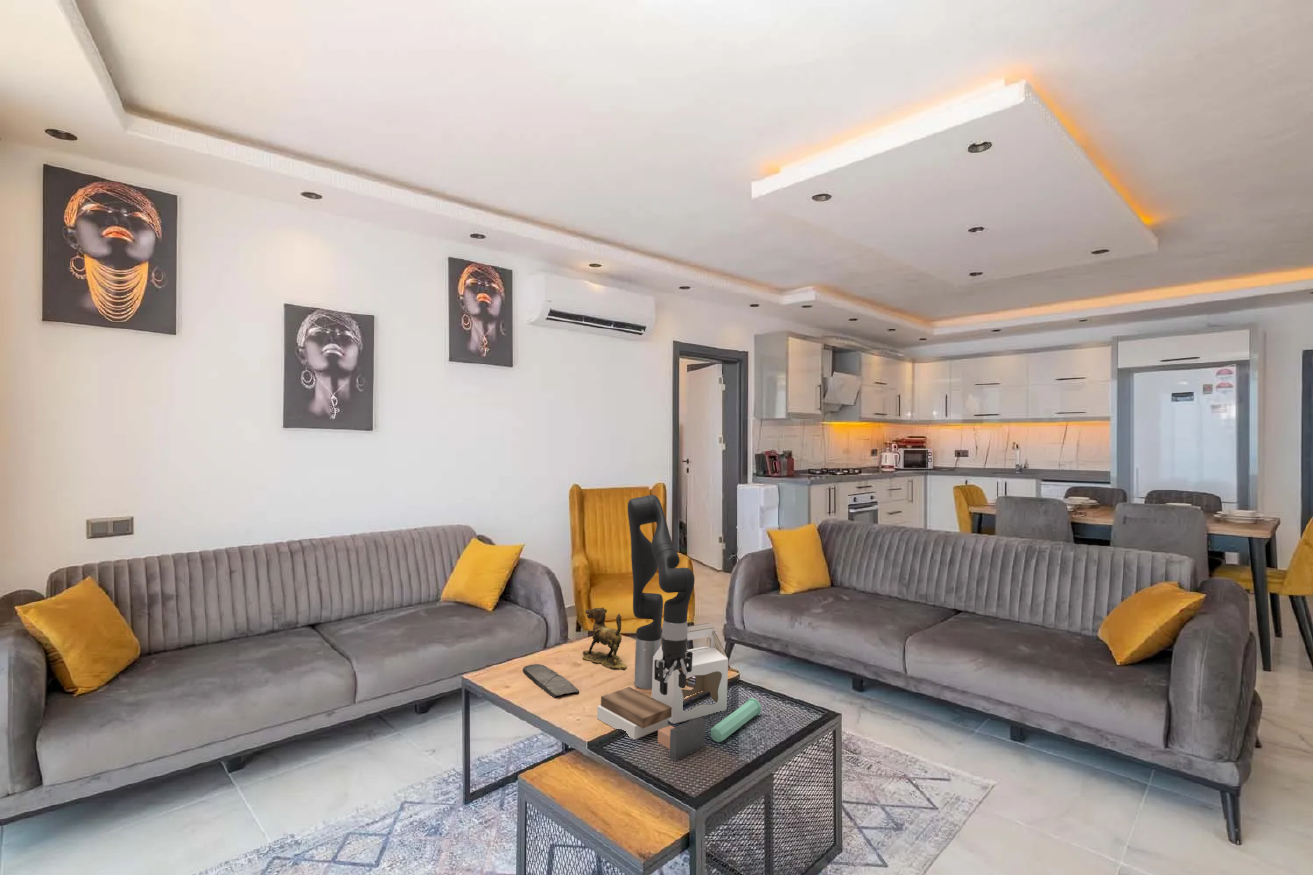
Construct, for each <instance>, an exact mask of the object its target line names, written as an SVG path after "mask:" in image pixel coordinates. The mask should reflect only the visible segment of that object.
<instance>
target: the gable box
mask: <svg viewBox="0 0 1313 875" xmlns="http://www.w3.org/2000/svg"><path fill="white" fill-rule="evenodd" d="M687 627H688V633H687V642H688V641H692V640H697V639H699V640H700V639H703V638H706V642H705V646H702V647H700V646H699V647H695V648H691V649H687V651H690V652H692V653H693V657H692V671H691V672H688V674H687V675H686V678H688V677H691V676H692V677H693V676H695V678H694V680H695V681H694V682H695V683H694V684H695V686H694V687H693V688H692V689H686V688H681V687H679V685H678V684H679V674H680V673H679V671H678V670H675V671H673V672H672V674H671V676H669V678H668V681H667V682H668V687H667V695H663V694H661V692H660V682H659V681H657V680H655V679H654V664H655V660H661V659H662V658H663V651H662V644H661V646H660V648H659V649H658V650H657V652H656V653H655V655H654V656H653V673H652V689H651V698H653V699H655V700H658V701H660V702H662V703H664V704H666V705H668V706H670V707H672V712H671V717H670V718H668V723H671V724H673V725H675V724H679V723H683V722H686V721H687V722H688V721H691V720H694V719H696V718H698V717H700V718H702V717H706V716H710V715H713V713H714V714H716V712H718V713H720V711H721V712H725V711H727V709H728V708H727V707H728V705H727V702H728V680H729V679H728V678H729V676H728V674H729V657H728V656H727V653H726V652H725V649H724V648H723V646H722V643H721V641H720V639H719V637H718V631H717V630H714V629H715V627H713V626H712V624H711V623H710V622H707V623H705V622H704V623H701V624H694V625H687ZM687 667H688V663H687ZM665 670H666V671H669V670H667V669H665ZM665 675H666V674H665ZM665 675H664V678H665ZM658 676H659V674H658ZM701 691H707V692H710V694H711V697H712V699H713V700H714V701H715V702H716V703H714V704H700V705H697V706H695V707H693V708H692V709H690V710H688V711H684V710H683V701H684V698H685V697H686V696H690V695H693V694H695V693H698V692H701ZM709 714H710V715H709Z"/></svg>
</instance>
